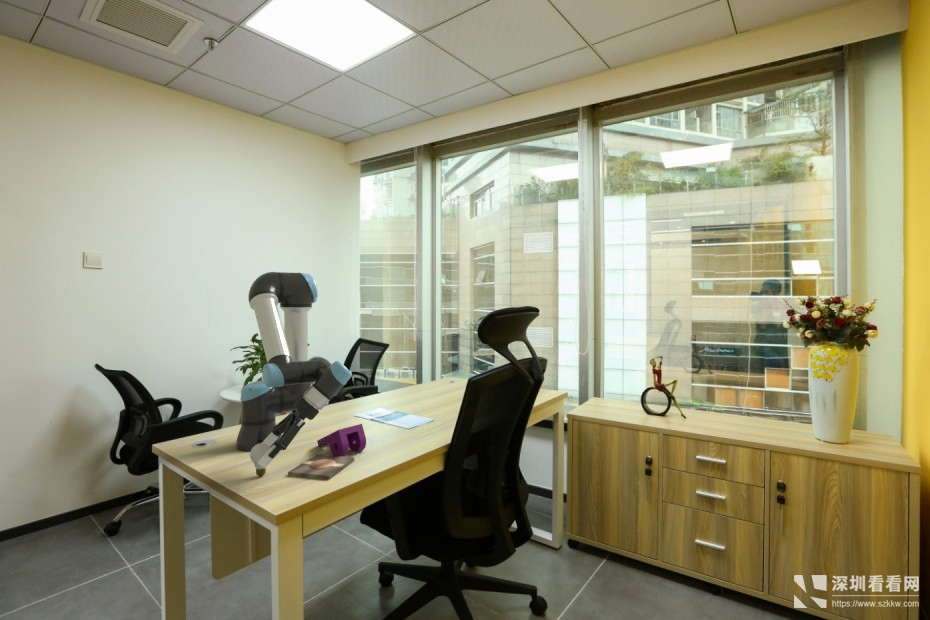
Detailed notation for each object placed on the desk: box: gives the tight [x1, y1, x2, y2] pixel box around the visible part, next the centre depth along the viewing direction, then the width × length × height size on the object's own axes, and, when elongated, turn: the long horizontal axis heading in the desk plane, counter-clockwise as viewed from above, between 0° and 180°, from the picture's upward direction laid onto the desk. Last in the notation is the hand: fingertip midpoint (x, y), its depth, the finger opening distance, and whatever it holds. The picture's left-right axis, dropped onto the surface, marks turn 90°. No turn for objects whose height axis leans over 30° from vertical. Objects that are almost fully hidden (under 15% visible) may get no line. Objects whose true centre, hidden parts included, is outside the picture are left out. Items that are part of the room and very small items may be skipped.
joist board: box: [287, 453, 355, 481], centre depth 141 cm, size 14×16×1 cm
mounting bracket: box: [316, 423, 367, 457], centre depth 158 cm, size 10×9×19 cm
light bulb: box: [249, 443, 270, 477], centre depth 134 cm, size 6×6×10 cm
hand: (260, 458), depth 133 cm, fingers open, 13 cm apart
